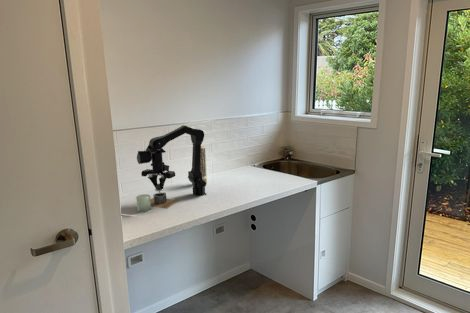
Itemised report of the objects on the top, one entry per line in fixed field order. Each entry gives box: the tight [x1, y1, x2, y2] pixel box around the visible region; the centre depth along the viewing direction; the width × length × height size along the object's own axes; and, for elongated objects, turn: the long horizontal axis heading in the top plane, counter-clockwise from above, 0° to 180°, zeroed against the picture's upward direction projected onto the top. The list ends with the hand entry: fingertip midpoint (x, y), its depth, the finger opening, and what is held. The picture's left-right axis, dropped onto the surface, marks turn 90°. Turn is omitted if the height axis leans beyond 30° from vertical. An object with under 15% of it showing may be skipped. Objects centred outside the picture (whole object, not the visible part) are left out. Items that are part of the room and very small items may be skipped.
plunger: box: [154, 182, 164, 196], centre depth 199 cm, size 4×4×7 cm
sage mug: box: [135, 193, 152, 213], centre depth 189 cm, size 7×9×8 cm
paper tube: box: [200, 145, 208, 185], centre depth 234 cm, size 7×7×25 cm
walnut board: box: [150, 197, 182, 209], centre depth 200 cm, size 18×14×1 cm
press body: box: [152, 192, 168, 205], centre depth 201 cm, size 7×8×5 cm
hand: (159, 188), depth 199 cm, fingers closed on plunger, 3 cm apart
